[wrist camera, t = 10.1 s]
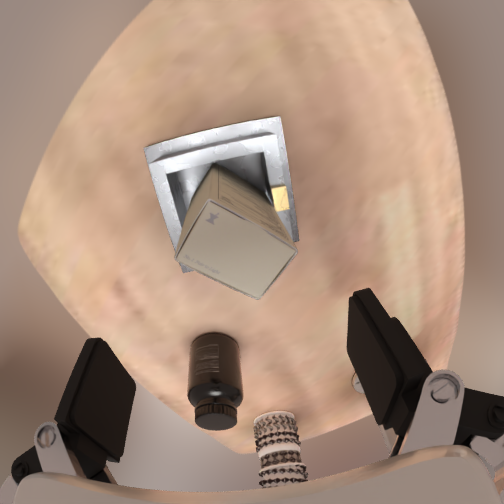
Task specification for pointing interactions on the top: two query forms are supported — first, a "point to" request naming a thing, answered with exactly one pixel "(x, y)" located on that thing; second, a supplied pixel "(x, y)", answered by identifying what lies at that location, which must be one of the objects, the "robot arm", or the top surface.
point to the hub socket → (230, 157)
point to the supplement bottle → (215, 381)
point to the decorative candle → (278, 449)
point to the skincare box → (234, 234)
